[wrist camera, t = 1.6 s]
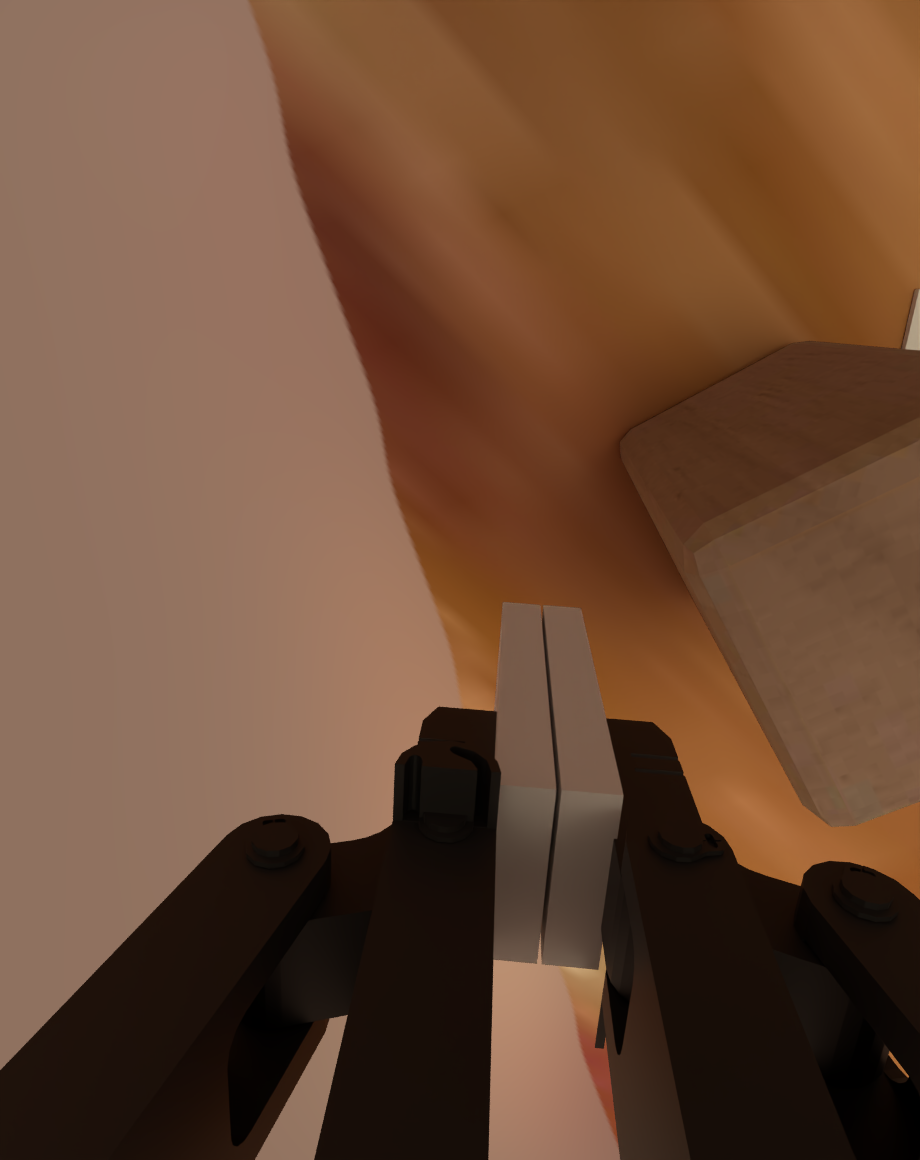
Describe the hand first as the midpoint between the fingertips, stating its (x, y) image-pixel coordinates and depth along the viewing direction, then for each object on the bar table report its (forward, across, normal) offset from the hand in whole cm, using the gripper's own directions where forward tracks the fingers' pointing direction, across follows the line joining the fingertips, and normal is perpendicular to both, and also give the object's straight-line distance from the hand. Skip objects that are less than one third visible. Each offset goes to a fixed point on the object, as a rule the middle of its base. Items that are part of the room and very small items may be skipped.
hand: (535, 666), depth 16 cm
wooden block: (+24, +11, 0) cm, 27 cm away
